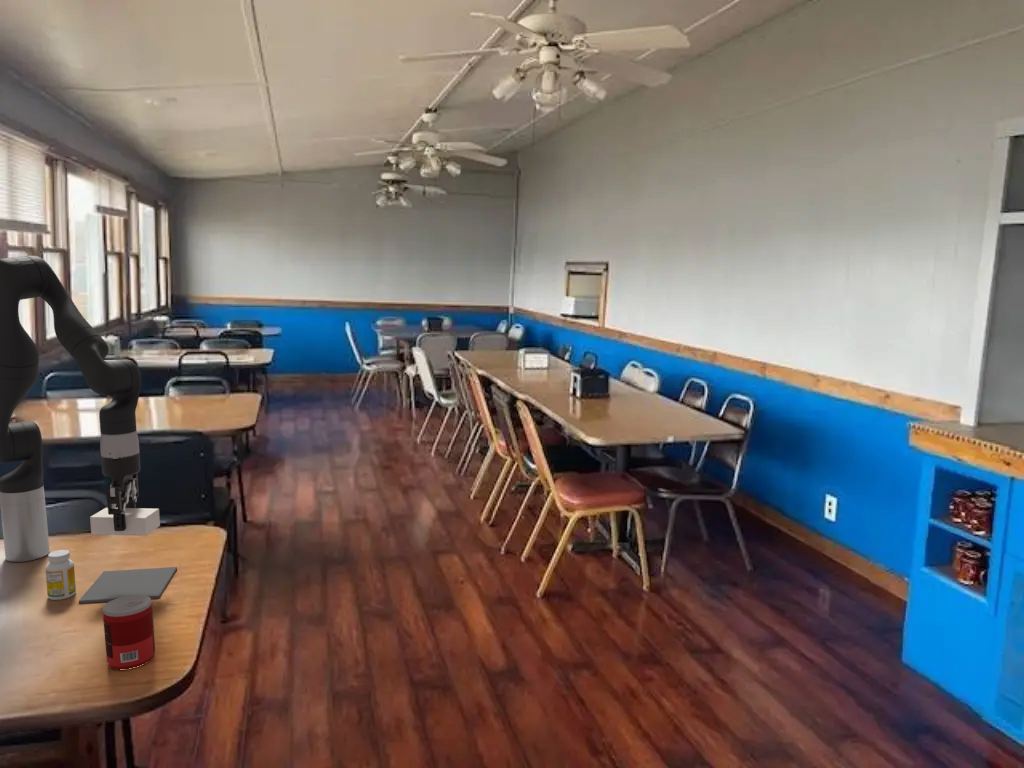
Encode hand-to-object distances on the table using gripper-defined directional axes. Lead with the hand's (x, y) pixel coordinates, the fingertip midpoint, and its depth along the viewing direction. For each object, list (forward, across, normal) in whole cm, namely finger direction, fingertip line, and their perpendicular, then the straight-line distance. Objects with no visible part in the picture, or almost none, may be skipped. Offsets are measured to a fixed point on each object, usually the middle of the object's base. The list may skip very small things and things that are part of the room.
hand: (125, 524), depth 171 cm
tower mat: (+14, 0, 0) cm, 14 cm away
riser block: (+1, 0, 0) cm, 1 cm away
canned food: (+15, +35, +10) cm, 39 cm away
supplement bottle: (+14, +3, -13) cm, 20 cm away
